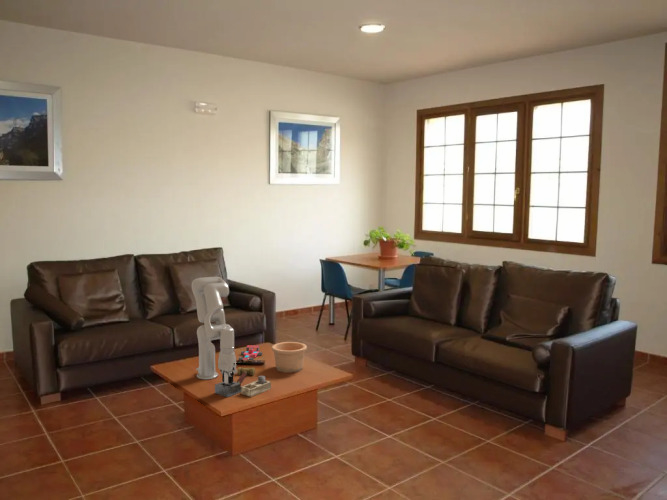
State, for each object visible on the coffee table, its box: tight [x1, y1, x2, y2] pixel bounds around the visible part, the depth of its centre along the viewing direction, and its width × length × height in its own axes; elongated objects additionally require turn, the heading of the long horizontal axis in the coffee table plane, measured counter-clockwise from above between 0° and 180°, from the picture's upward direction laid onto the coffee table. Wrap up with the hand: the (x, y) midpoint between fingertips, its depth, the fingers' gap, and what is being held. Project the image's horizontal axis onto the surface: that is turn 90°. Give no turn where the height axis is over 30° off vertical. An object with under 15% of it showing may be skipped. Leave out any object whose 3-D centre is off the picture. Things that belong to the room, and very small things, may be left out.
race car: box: [238, 344, 263, 361], centre depth 382 cm, size 14×6×25 cm
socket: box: [214, 380, 242, 398], centre depth 319 cm, size 10×10×5 cm
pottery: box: [271, 341, 308, 374], centre depth 361 cm, size 22×22×14 cm
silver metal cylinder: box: [224, 371, 232, 386], centre depth 319 cm, size 4×4×12 cm
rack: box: [240, 375, 272, 398], centre depth 321 cm, size 8×16×7 cm, turn 144°
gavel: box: [236, 367, 256, 384], centre depth 342 cm, size 21×5×10 cm
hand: (227, 381), depth 318 cm, fingers closed on silver metal cylinder, 4 cm apart
